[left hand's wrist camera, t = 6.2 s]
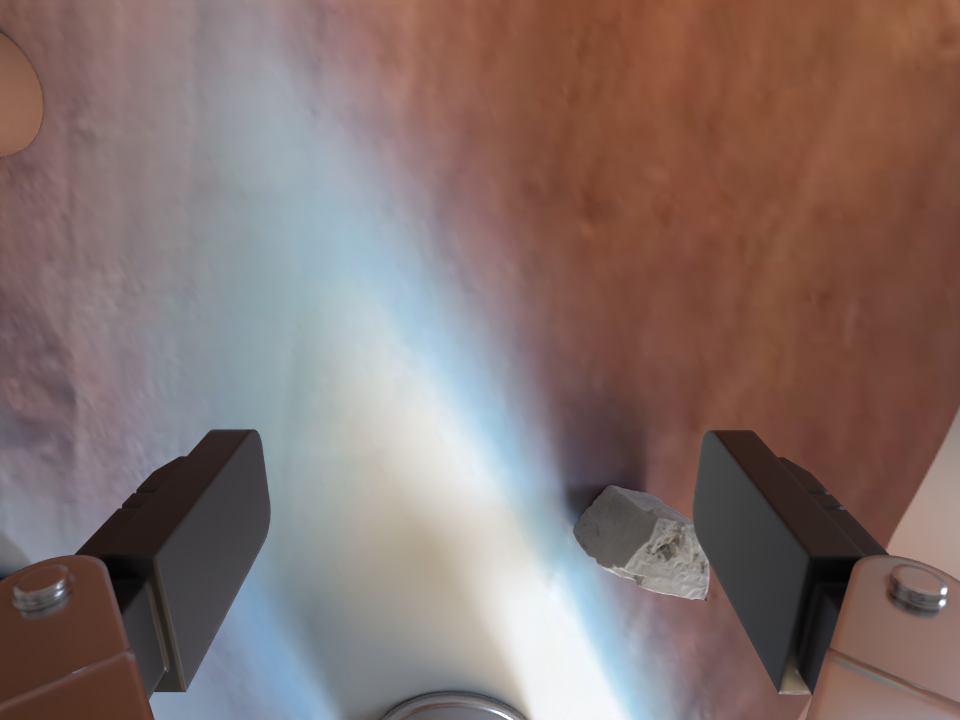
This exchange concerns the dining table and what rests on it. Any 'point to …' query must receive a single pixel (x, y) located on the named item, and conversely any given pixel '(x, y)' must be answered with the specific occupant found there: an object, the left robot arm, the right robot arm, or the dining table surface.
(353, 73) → the dining table surface
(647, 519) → the mineral specimen
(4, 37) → the bottle
